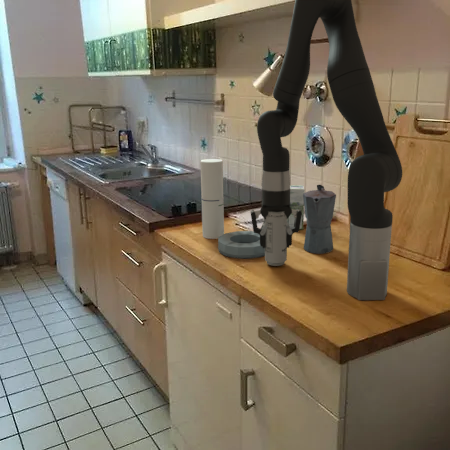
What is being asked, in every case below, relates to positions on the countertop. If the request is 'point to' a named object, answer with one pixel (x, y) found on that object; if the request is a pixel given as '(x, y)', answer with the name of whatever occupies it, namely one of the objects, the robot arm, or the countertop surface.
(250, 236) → the blue-grey ring
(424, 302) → the countertop surface
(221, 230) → the cylindrical container
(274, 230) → the energy drink can
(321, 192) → the moka pot
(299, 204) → the syrup box
